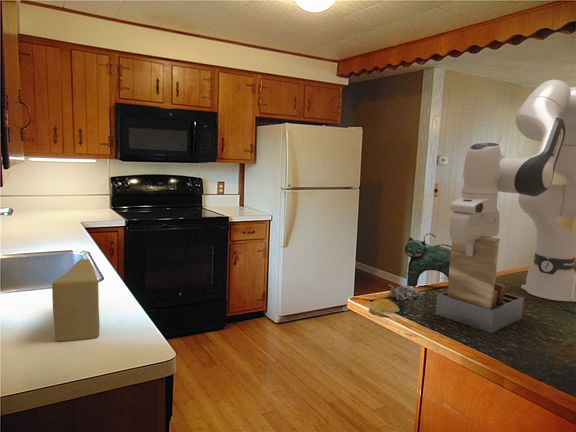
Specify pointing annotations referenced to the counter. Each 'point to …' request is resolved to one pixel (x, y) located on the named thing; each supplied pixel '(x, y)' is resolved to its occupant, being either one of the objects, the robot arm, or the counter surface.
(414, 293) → the egg carton
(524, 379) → the counter surface
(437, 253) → the ceramic cat
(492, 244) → the birch sheet
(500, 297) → the walnut offcut
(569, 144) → the robot arm
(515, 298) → the rack
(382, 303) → the bread roll
